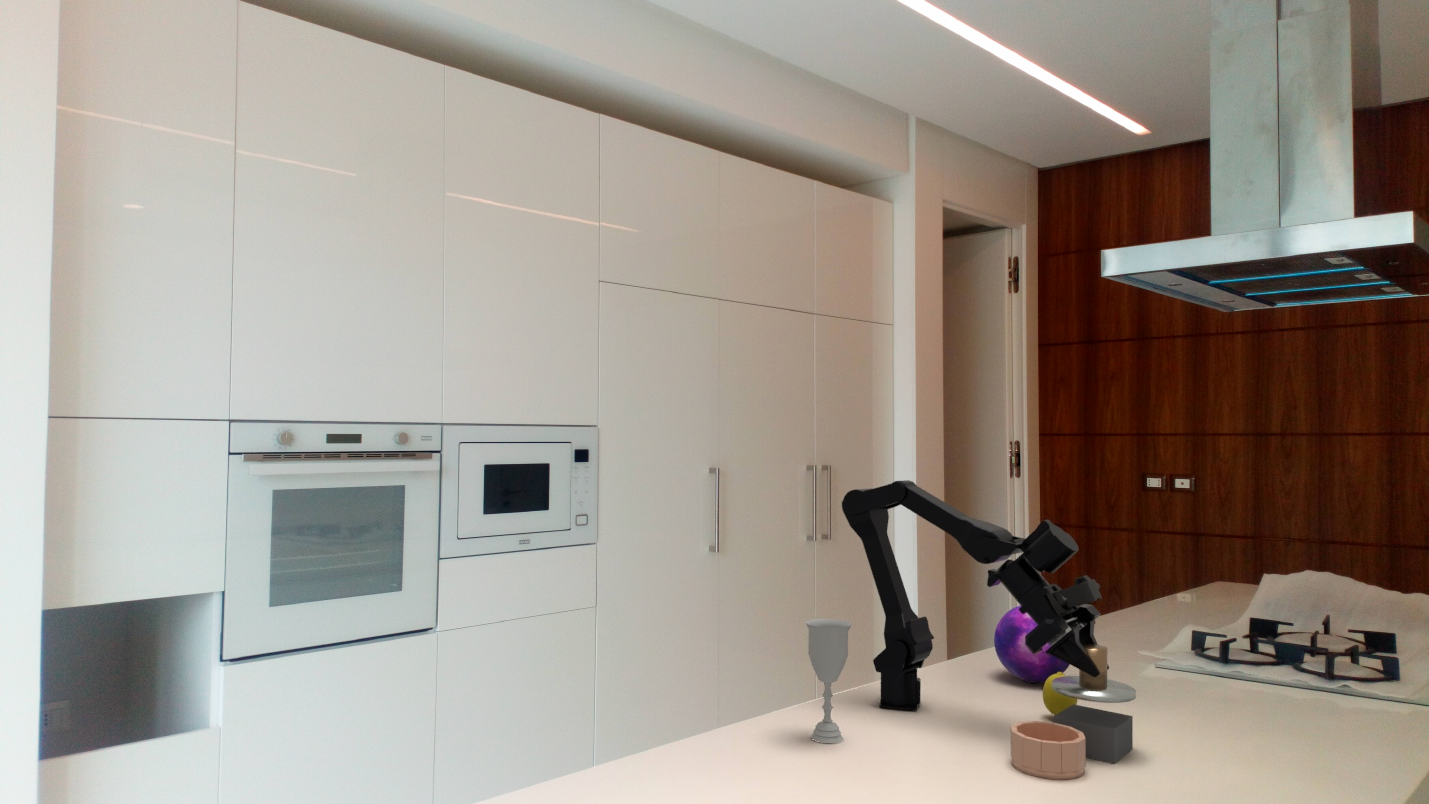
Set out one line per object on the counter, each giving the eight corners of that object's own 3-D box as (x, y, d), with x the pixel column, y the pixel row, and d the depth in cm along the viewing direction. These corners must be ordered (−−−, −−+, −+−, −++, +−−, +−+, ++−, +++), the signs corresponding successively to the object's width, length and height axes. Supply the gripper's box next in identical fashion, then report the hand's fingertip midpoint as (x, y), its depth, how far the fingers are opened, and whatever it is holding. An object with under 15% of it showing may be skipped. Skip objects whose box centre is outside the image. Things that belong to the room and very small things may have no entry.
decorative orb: (979, 679, 180) (979, 603, 180) (1018, 667, 190) (1018, 595, 191) (1050, 696, 169) (1051, 615, 169) (1088, 682, 179) (1088, 606, 179)
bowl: (1013, 774, 128) (1013, 739, 128) (1008, 751, 138) (1009, 718, 138) (1089, 782, 126) (1089, 746, 126) (1079, 758, 135) (1079, 724, 135)
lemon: (1080, 725, 151) (1080, 677, 152) (1045, 722, 152) (1045, 674, 153) (1074, 715, 157) (1074, 668, 157) (1040, 713, 158) (1040, 666, 158)
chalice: (854, 734, 144) (855, 620, 145) (846, 748, 138) (847, 629, 139) (809, 729, 147) (810, 617, 148) (799, 742, 140) (800, 625, 141)
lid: (1056, 698, 136) (1056, 652, 136) (1047, 678, 147) (1047, 636, 148) (1143, 705, 133) (1143, 658, 133) (1127, 684, 144) (1127, 641, 145)
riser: (1053, 749, 139) (1053, 716, 139) (1073, 735, 146) (1073, 704, 146) (1114, 763, 133) (1114, 729, 134) (1132, 748, 140) (1132, 715, 140)
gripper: (1046, 565, 136) (1123, 651, 129) (1087, 554, 150) (1159, 632, 143) (995, 610, 141) (1066, 696, 133) (1040, 596, 155) (1107, 673, 148)
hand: (1102, 672), depth 139 cm, fingers closed on lid, 4 cm apart
